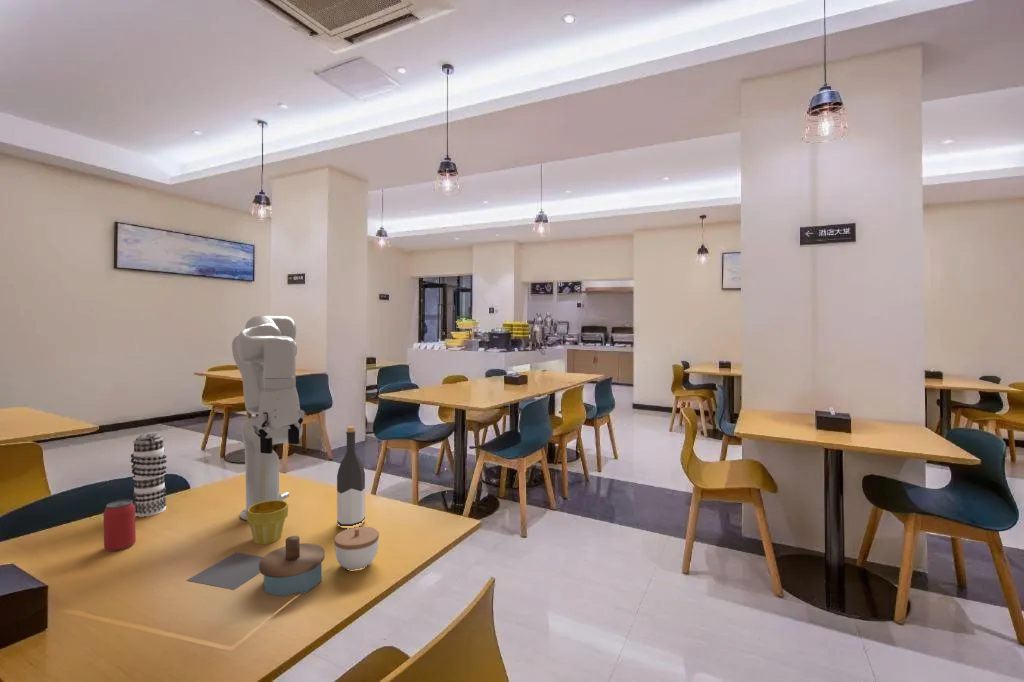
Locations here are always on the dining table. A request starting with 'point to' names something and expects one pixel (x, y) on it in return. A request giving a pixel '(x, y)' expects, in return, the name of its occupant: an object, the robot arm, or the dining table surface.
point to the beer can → (119, 525)
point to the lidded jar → (356, 547)
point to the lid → (291, 559)
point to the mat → (230, 571)
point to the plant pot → (267, 520)
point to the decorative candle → (149, 475)
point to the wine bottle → (350, 486)
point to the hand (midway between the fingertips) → (280, 448)
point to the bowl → (293, 582)
